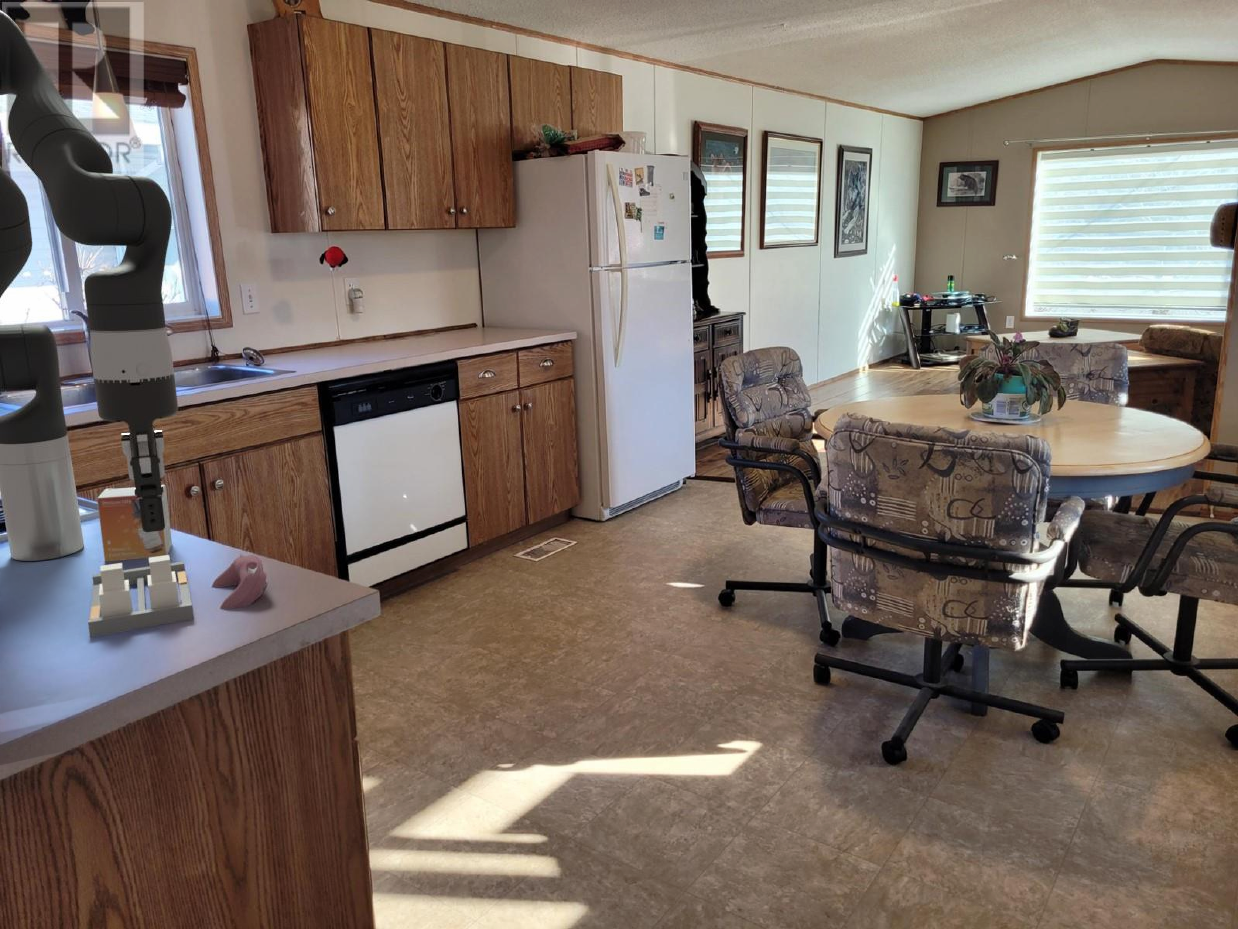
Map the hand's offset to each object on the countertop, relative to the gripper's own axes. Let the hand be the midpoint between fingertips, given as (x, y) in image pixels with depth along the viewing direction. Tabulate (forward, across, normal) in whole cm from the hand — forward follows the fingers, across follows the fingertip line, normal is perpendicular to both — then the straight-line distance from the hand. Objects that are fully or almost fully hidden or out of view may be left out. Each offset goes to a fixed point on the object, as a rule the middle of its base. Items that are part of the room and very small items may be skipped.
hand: (154, 529), depth 98 cm
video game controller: (+14, -10, +9) cm, 19 cm away
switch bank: (+14, -12, -2) cm, 19 cm away
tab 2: (+12, -8, 0) cm, 15 cm away
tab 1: (+12, -8, -5) cm, 15 cm away
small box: (+14, -33, -2) cm, 36 cm away
